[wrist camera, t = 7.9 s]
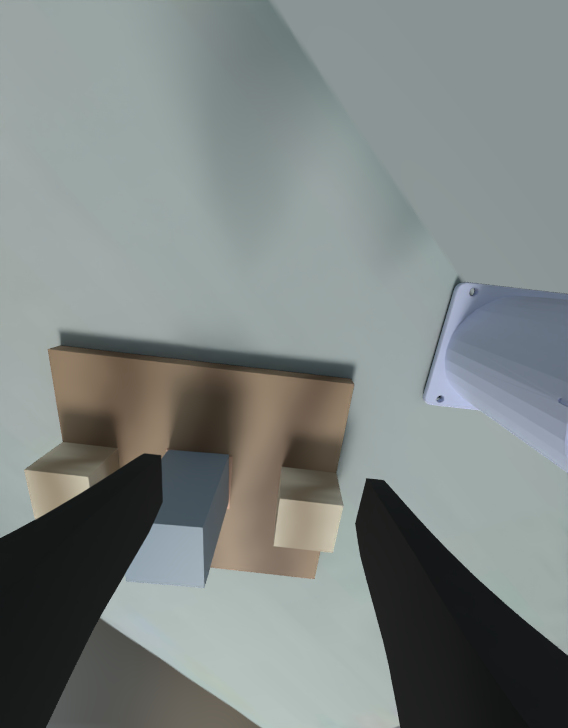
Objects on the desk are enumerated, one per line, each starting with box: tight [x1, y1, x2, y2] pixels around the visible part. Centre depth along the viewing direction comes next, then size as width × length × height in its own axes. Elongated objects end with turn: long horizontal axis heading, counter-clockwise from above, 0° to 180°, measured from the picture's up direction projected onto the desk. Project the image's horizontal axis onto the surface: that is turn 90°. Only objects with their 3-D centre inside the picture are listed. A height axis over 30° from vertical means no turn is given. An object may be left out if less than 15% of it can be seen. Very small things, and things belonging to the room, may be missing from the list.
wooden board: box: [24, 346, 354, 579], centre depth 20 cm, size 20×18×4 cm
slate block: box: [125, 450, 229, 588], centre depth 17 cm, size 4×4×6 cm
